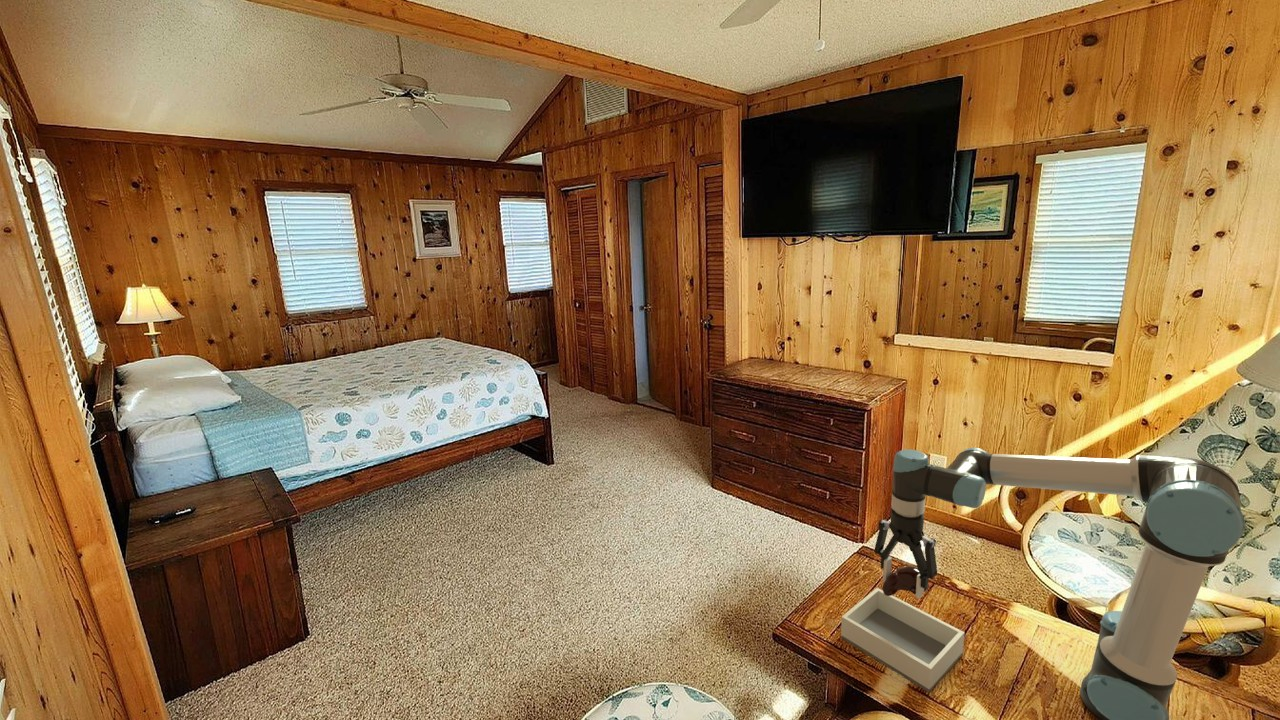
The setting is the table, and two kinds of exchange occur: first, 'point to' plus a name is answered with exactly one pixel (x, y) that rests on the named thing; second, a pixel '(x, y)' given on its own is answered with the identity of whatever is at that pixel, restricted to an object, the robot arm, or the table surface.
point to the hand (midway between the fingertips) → (902, 587)
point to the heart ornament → (902, 581)
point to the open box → (903, 638)
